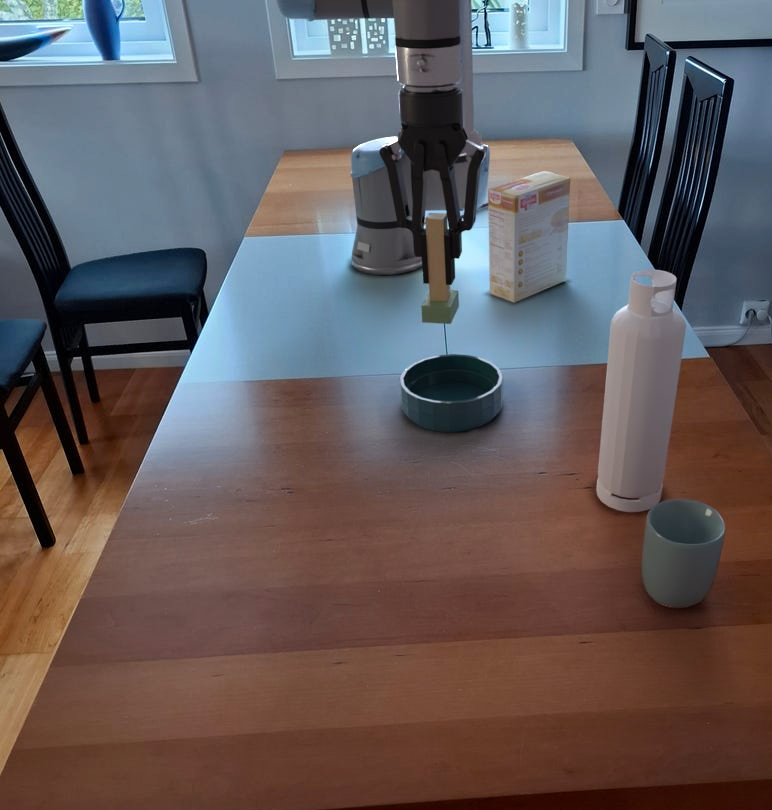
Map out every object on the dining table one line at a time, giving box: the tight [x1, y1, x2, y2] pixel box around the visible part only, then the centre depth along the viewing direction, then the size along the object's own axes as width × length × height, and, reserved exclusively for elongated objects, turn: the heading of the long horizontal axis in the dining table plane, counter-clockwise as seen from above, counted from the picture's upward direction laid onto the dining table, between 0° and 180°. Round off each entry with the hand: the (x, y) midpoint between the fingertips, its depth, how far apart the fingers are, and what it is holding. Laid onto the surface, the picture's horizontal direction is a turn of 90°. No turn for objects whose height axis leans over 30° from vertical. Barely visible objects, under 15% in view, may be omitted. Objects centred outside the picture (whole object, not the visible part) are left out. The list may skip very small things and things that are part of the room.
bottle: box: [595, 269, 687, 513], centre depth 93 cm, size 8×8×28 cm
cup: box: [640, 498, 726, 609], centre depth 84 cm, size 8×8×10 cm
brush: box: [420, 212, 460, 325], centre depth 108 cm, size 6×4×13 cm, turn 171°
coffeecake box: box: [487, 170, 571, 304], centre depth 150 cm, size 15×7×20 cm, turn 134°
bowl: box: [399, 353, 504, 433], centre depth 118 cm, size 15×15×5 cm
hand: (439, 280), depth 109 cm, fingers closed on brush, 2 cm apart
